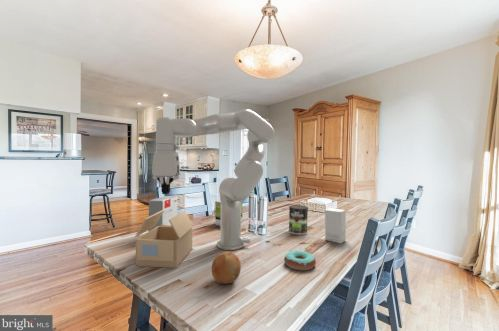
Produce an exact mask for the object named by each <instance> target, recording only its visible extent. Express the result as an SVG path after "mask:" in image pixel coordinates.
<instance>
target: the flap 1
mask: <svg viewBox="0 0 499 331" xmlns="http://www.w3.org/2000/svg"><path fill="white" fill-rule="evenodd" d="M163 212H164V210H162V211H160V212H158V213H156V214H154V215H152V216H150V217H149V216H147V217H146V218H144V219H143V222H142V223H141V225H140V227H139V228H138V230H137V232H136V234H135V236H134V237H135V238H138V237H140V236H142V235H143V234H145V233H147V232H148V230H149V229H151V228H152V227H154V226H156V224H157V222H158V221H159V219H160V217H161V215H162V214H163Z"/></svg>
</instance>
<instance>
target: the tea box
mask: <svg viewBox="0 0 499 331" xmlns="http://www.w3.org/2000/svg"><path fill="white" fill-rule="evenodd" d="M240 202H241V223H243V201H240ZM214 205H215V206H214V208H215V210H214V211H215V212H214V213H215V216H214V218H215V221H214V222H215V225H216V226H219V227H220V215H221V203H220V199H219V200H216V201H215V202H214Z"/></svg>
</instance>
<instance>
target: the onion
mask: <svg viewBox="0 0 499 331" xmlns="http://www.w3.org/2000/svg"><path fill="white" fill-rule="evenodd" d="M241 268H242V265H241V260H240V259H239V257H238V255H237V254H235V253H234V252H232V251H231V250H225V251H223V252H222V253H219V254H218V255H216V256H215V258H214V259H213V261H212V263H211V274H212V277H213V278H214V280H215V281H216V282H218V283H219V284H223V285H229V284H231V283H234V282H235V281H237V279H238V278H239V276H240V274H241V270H242V269H241Z"/></svg>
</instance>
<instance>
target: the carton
mask: <svg viewBox="0 0 499 331" xmlns="http://www.w3.org/2000/svg"><path fill="white" fill-rule="evenodd" d="M192 251H193V227H192V228H191V229H190V230H189V231H188V232H187V233H185V234H184V235H183V236H182V237H181V238H180V239H179V238H178V236H177V234H176V233H175V231H174V229H173V227H172V225H160V226H157V227H155V228H154V229H152V230H150V231H149V232H148V231H146V232H145V233H143V234H141V235H140V236H138V237H136V238H135V266H136V267H150V268H151V267H155V268H171V269H173V268H174V269H177V268H178V267H179V266H180V265H181V264H182V263H183V262H184V260H185V259H186V258H187V256H188V255H189V254H190V253H191V252H192Z"/></svg>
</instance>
